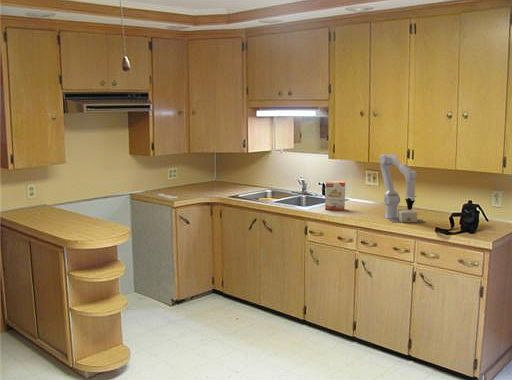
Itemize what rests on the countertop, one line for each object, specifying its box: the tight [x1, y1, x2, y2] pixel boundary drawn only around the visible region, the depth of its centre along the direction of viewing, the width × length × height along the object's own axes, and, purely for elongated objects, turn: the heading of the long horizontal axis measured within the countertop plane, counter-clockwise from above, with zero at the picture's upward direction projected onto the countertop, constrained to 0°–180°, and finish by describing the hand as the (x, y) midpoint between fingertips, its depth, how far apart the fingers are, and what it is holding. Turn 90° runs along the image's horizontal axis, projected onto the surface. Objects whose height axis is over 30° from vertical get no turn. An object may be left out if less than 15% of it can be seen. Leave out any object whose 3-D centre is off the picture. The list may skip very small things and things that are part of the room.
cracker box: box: [324, 180, 346, 211], centre depth 408 cm, size 14×6×21 cm, turn 76°
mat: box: [389, 218, 426, 223], centre depth 369 cm, size 8×22×1 cm, turn 89°
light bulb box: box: [397, 208, 418, 223], centre depth 369 cm, size 11×7×11 cm
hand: (409, 209), depth 363 cm, fingers closed
